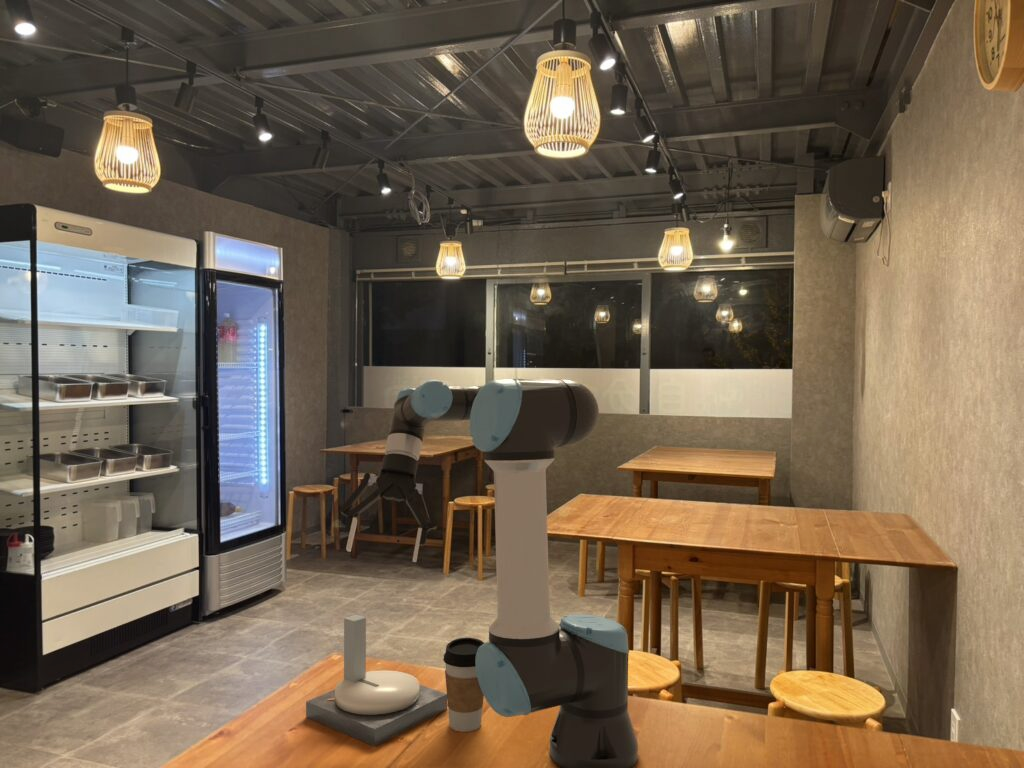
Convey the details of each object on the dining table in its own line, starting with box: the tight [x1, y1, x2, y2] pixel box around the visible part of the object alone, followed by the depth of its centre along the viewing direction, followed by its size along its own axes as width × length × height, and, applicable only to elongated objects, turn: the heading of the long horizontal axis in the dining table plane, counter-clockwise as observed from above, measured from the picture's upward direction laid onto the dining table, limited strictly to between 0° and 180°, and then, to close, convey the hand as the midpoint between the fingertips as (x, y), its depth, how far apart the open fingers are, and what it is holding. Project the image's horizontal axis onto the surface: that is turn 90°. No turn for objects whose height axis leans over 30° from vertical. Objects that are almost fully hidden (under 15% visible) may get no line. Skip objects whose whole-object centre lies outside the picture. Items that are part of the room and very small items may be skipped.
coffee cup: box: [442, 637, 485, 733], centre depth 142 cm, size 8×8×15 cm
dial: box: [334, 614, 420, 715], centre depth 147 cm, size 16×16×14 cm
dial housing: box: [305, 684, 448, 747], centre depth 147 cm, size 19×19×3 cm
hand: (381, 555), depth 156 cm, fingers open, 13 cm apart
